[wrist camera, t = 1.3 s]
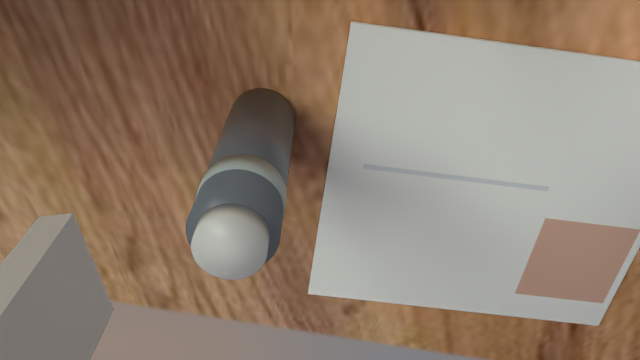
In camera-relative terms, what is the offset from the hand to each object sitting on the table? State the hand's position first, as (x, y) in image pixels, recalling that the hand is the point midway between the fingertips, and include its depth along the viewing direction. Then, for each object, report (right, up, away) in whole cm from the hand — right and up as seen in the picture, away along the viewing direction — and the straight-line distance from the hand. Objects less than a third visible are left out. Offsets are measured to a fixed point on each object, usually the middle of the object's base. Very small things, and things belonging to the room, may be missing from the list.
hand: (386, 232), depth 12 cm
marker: (-5, +5, +19) cm, 20 cm away
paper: (+9, 0, +21) cm, 23 cm away
